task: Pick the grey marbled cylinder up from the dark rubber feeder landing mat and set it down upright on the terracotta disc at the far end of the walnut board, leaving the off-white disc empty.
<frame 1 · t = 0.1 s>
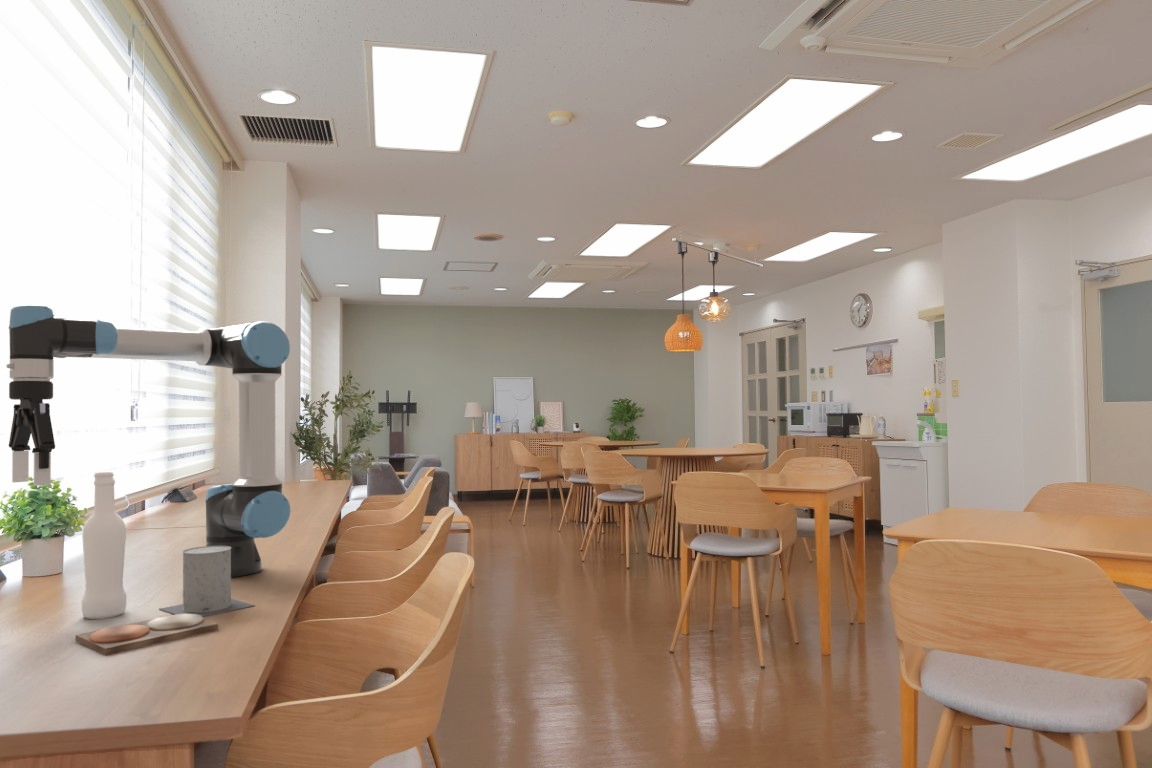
hand: (31, 483, 165), 28 cm above the table, fingers open, 13 cm apart
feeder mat: (207, 607, 173), on the table
grey marbled cylinder: (207, 607, 173), resting on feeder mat
bottle: (104, 615, 168), on the table
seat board: (148, 635, 152), on the table
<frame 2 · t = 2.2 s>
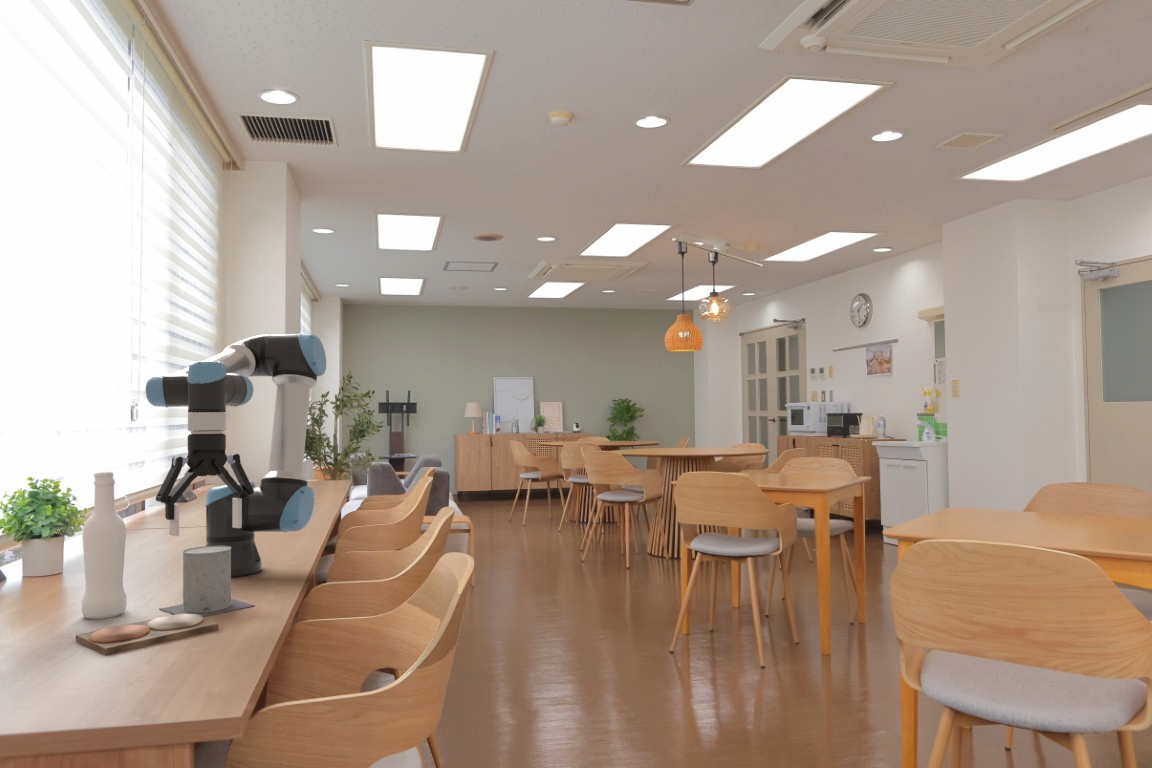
hand: (206, 531, 173), 16 cm above the table, fingers open, 13 cm apart
nothing on the table moved.
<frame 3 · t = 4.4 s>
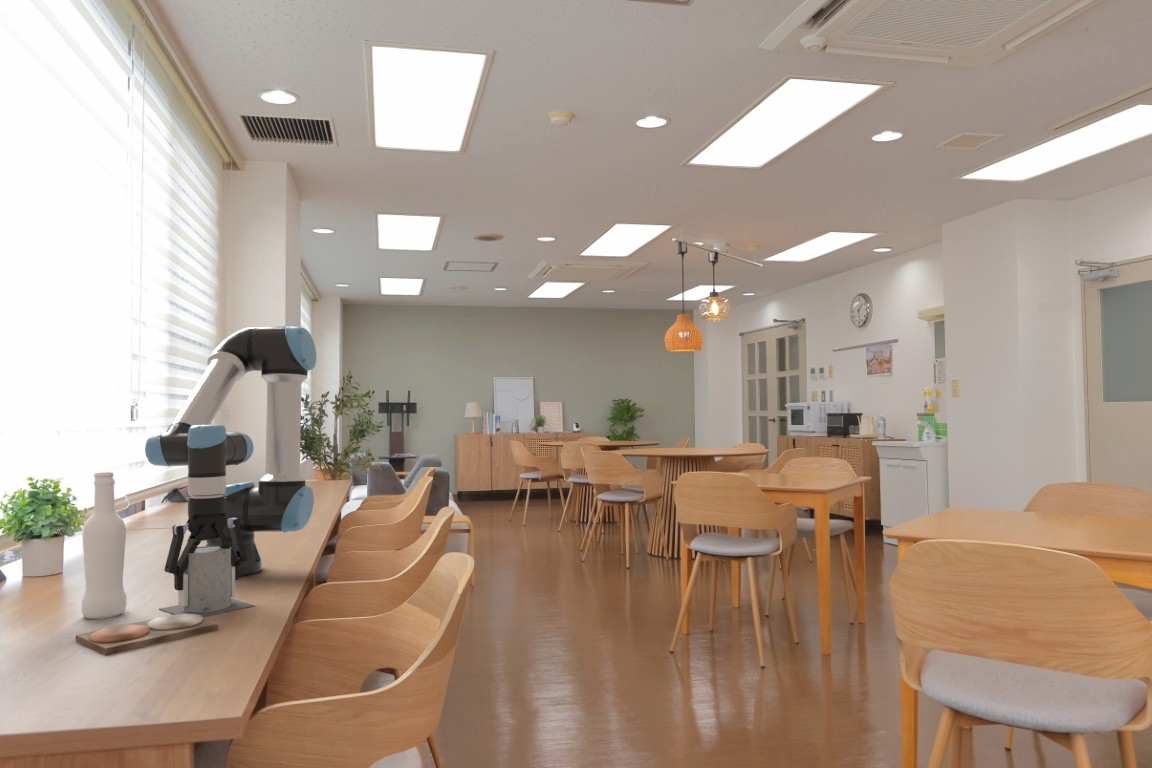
hand: (207, 600, 173), 2 cm above the table, fingers closed on grey marbled cylinder, 9 cm apart
grey marbled cylinder: (207, 607, 173), resting on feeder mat, touching gripper
everything else where it was.
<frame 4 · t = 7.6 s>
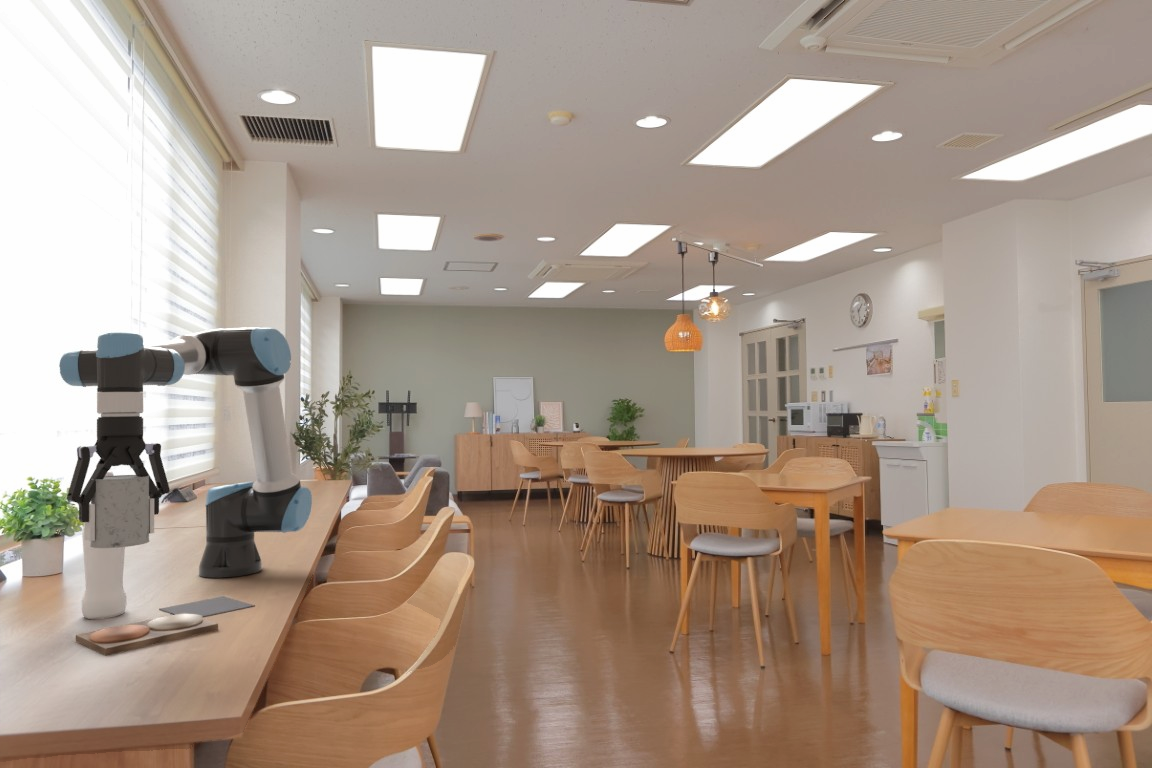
hand: (120, 536, 149), 19 cm above the table, fingers closed on grey marbled cylinder, 9 cm apart
grey marbled cylinder: (120, 544, 148), point 18 cm above the table, touching gripper
everything else where it was.
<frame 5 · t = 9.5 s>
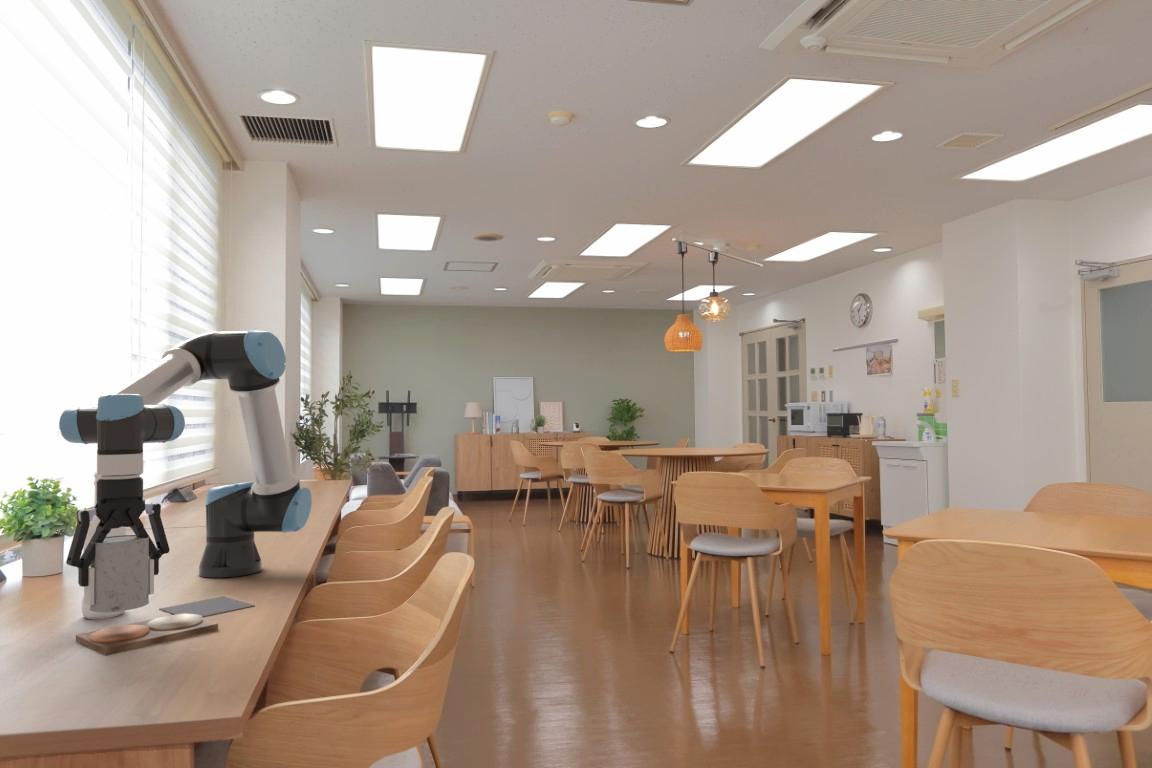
hand: (119, 598, 148), 8 cm above the table, fingers closed on grey marbled cylinder, 9 cm apart
grey marbled cylinder: (119, 606, 148), point 6 cm above the table, touching gripper
everything else where it was.
when the fingers open (5 cm above the table, at t = 11.2 s): grey marbled cylinder drops 1 cm, resting on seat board.
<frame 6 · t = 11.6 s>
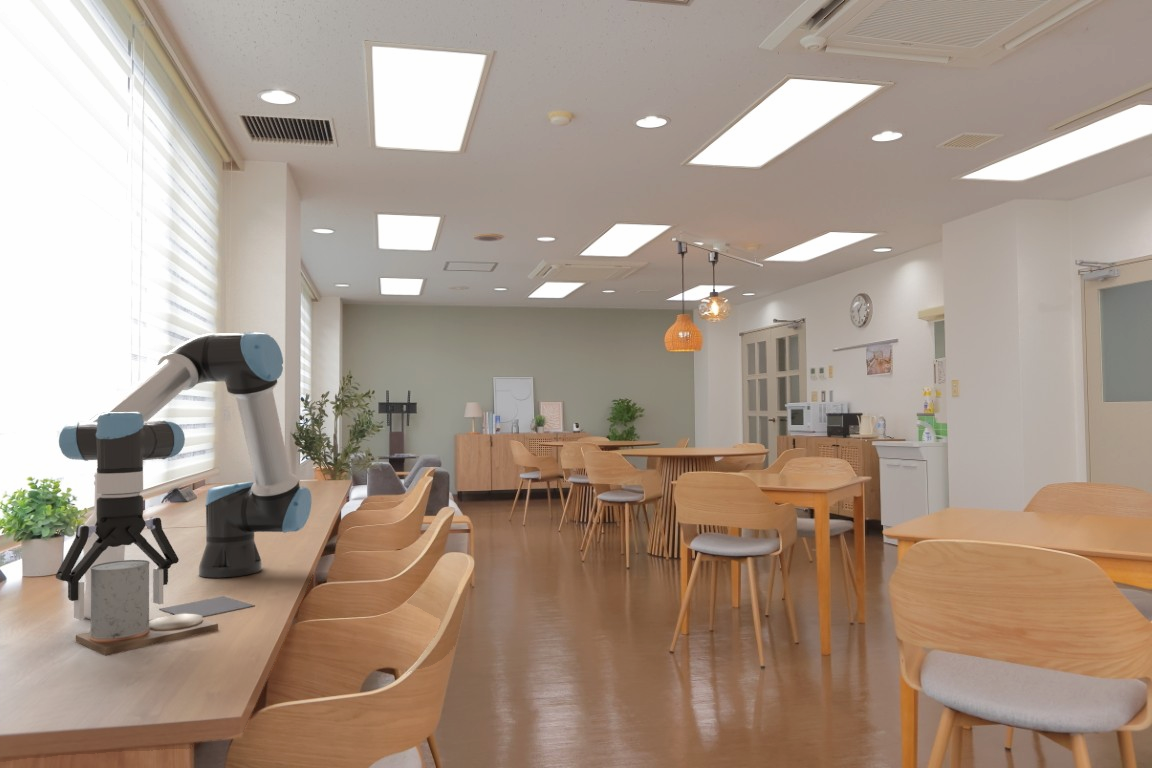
hand: (120, 610, 148), 6 cm above the table, fingers open, 13 cm apart
grey marbled cylinder: (120, 632, 148), point 2 cm above the table, touching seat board
everything else where it was.
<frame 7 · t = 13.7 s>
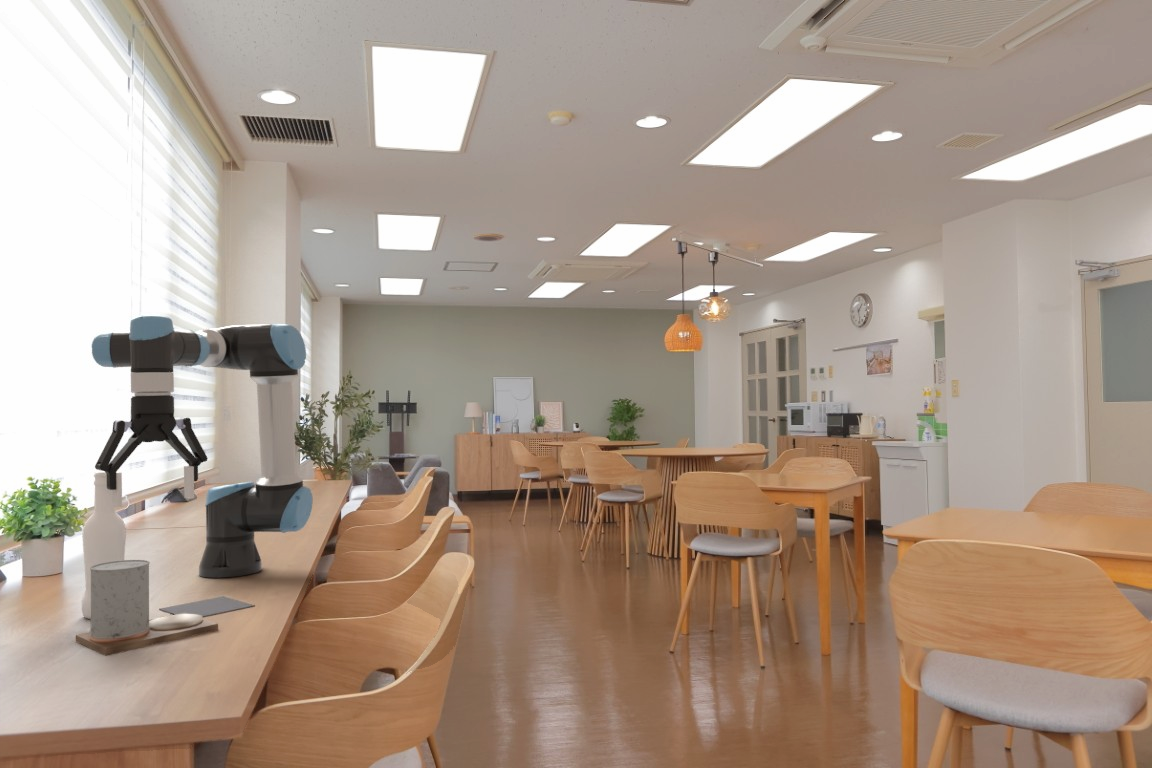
hand: (154, 502, 158), 24 cm above the table, fingers open, 13 cm apart
nothing on the table moved.
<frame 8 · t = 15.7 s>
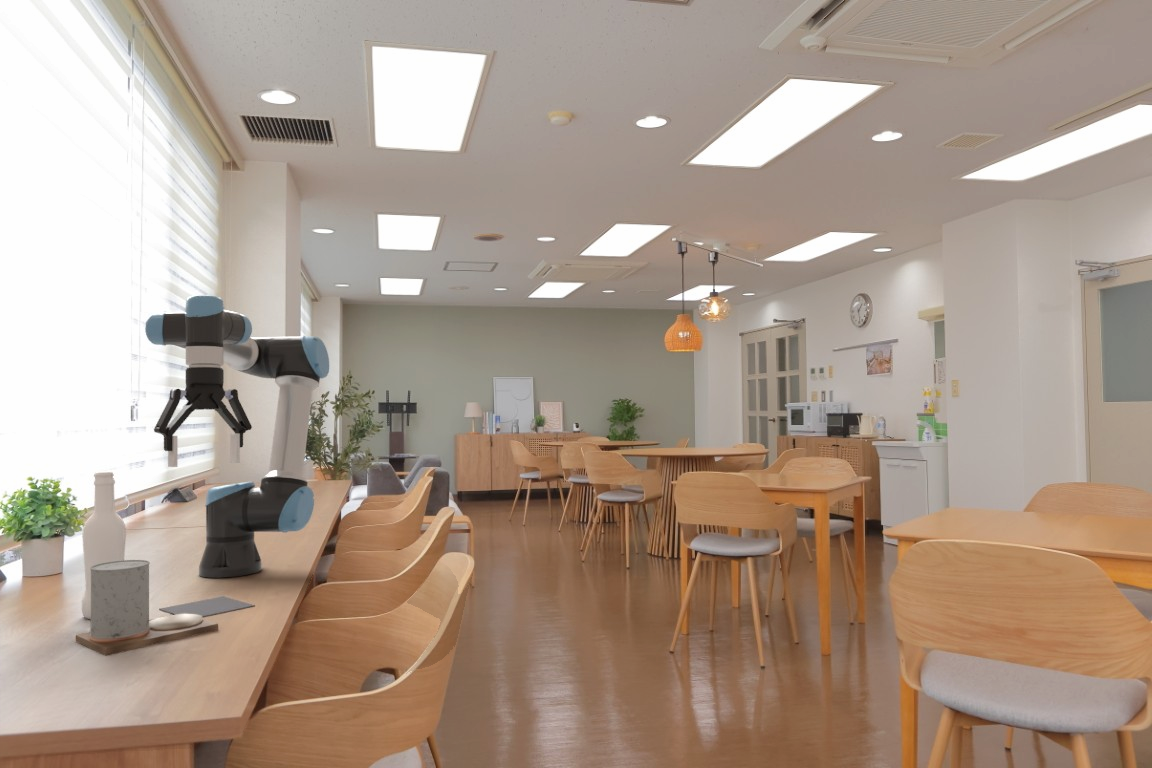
hand: (204, 464, 174), 31 cm above the table, fingers open, 13 cm apart
nothing on the table moved.
at the end: grey marbled cylinder inside the target area on the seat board (0.3 cm from its centre), point 1.6 cm above the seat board's base; grey marbled cylinder tilted 0°; the gripper is holding nothing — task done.
